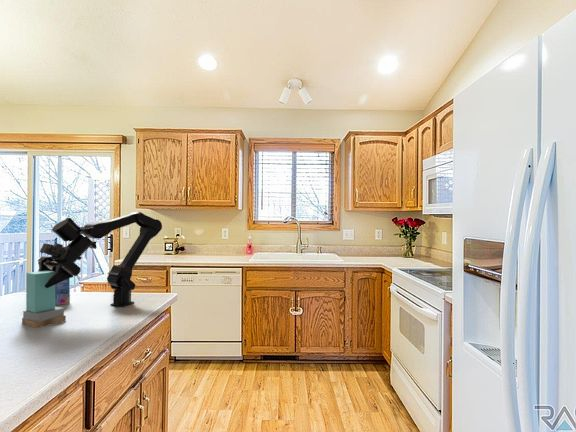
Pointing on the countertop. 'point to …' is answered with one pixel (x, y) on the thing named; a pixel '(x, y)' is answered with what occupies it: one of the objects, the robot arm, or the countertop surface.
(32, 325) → the tower base
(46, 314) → the tower top
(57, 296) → the ink cartridge box
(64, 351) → the countertop surface
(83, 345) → the countertop surface
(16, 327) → the countertop surface
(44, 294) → the column
